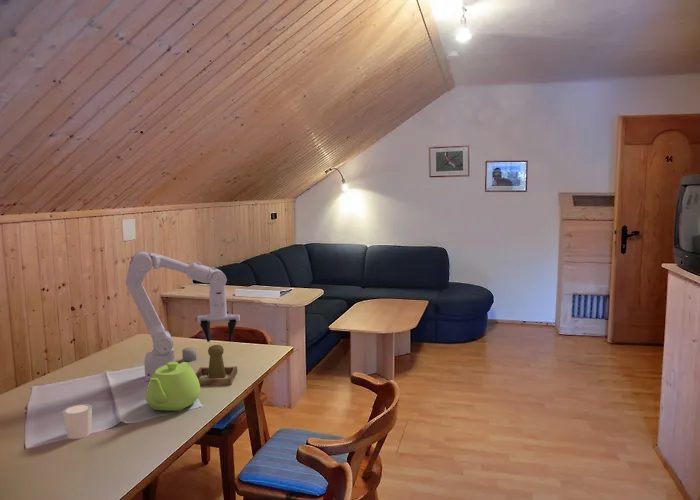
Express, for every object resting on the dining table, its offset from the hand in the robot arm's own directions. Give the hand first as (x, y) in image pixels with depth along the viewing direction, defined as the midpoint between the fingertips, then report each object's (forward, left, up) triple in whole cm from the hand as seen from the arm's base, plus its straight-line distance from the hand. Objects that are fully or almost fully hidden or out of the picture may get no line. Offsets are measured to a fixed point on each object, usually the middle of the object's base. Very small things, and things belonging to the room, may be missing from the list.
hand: (219, 340), depth 185 cm
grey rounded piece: (-14, +12, -10) cm, 21 cm away
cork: (0, -8, -11) cm, 13 cm away
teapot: (-8, -31, -11) cm, 34 cm away
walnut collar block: (0, -9, -10) cm, 14 cm away
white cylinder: (-28, -47, -11) cm, 56 cm away
